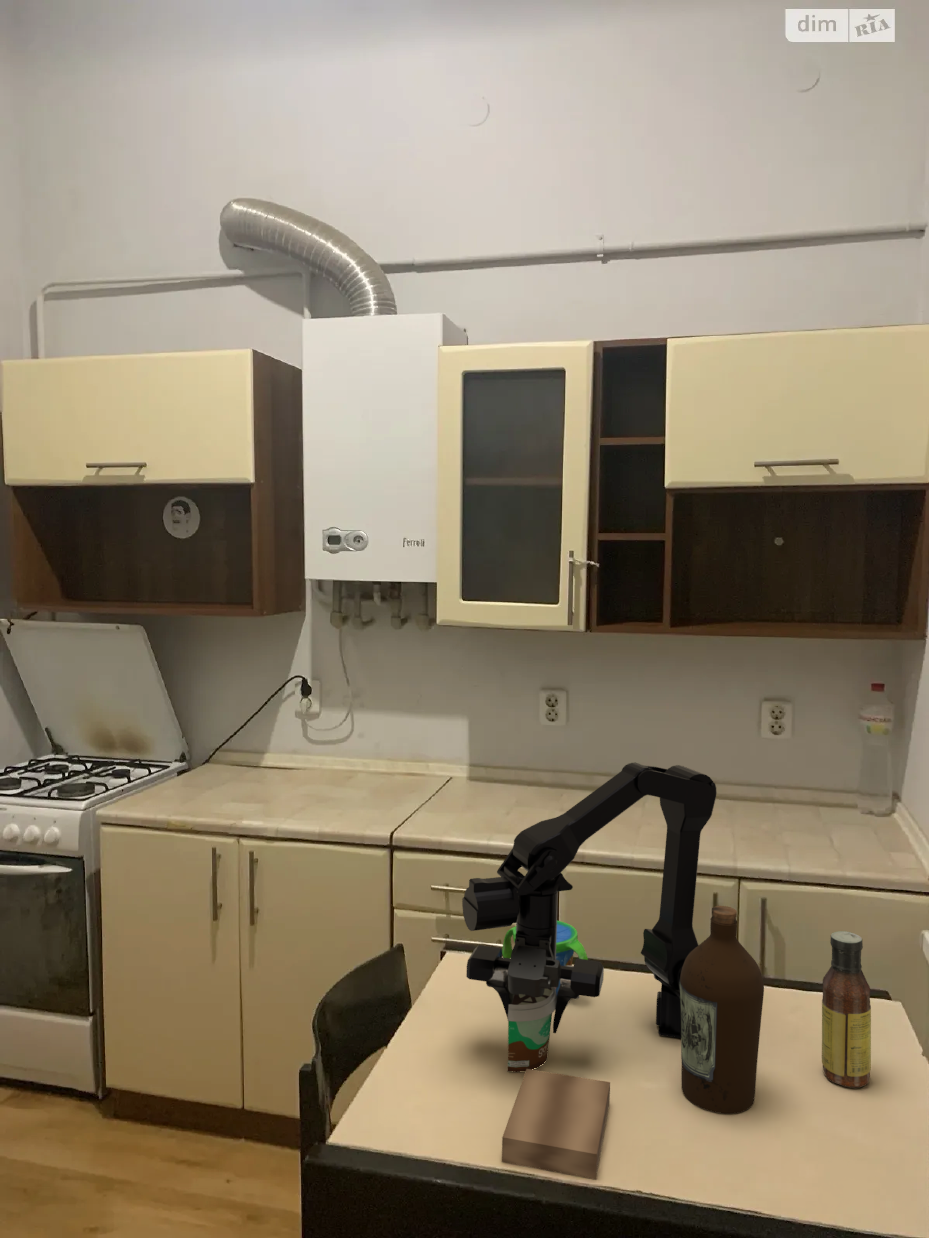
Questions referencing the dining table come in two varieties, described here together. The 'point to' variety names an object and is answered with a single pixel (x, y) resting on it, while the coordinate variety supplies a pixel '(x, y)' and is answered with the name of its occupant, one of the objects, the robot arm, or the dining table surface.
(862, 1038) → the sauce bottle
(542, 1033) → the food container
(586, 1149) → the base board
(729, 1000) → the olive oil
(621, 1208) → the dining table surface
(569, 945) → the snack cup
